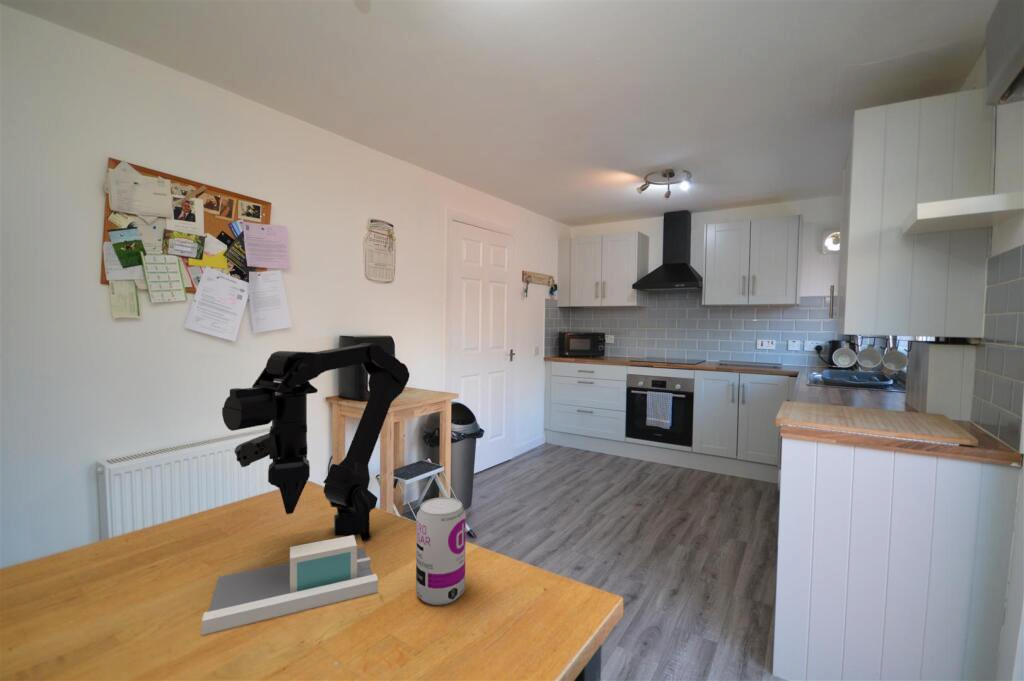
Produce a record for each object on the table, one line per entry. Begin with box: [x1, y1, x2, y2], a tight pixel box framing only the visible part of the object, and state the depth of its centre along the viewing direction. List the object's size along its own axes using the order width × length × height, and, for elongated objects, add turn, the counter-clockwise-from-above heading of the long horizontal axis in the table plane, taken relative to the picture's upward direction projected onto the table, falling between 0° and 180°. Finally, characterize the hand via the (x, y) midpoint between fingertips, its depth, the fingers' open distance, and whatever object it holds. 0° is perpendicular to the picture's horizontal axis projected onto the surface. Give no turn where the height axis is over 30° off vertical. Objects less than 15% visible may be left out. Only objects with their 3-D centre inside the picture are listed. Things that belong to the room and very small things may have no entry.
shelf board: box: [201, 547, 379, 636], centre depth 75 cm, size 24×16×4 cm, turn 116°
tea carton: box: [289, 535, 358, 593], centre depth 74 cm, size 4×10×7 cm, turn 116°
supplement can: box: [415, 496, 467, 606], centre depth 75 cm, size 8×8×15 cm
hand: (289, 503), depth 82 cm, fingers open, 9 cm apart
